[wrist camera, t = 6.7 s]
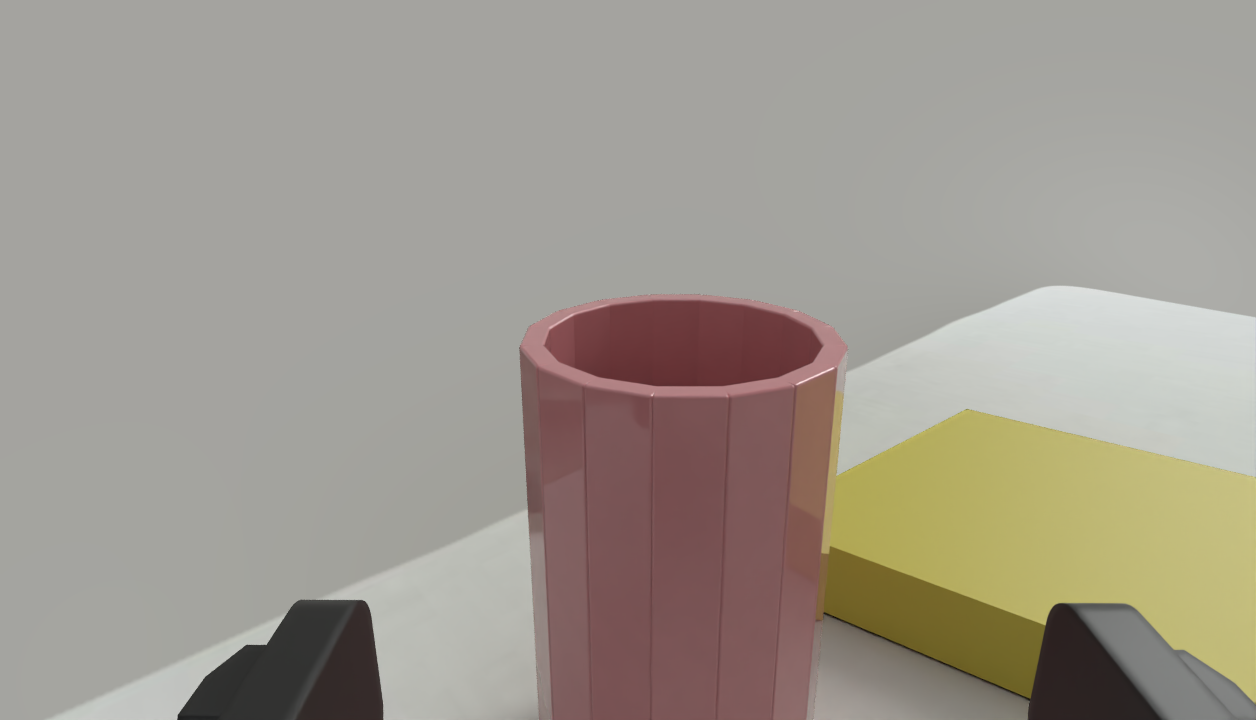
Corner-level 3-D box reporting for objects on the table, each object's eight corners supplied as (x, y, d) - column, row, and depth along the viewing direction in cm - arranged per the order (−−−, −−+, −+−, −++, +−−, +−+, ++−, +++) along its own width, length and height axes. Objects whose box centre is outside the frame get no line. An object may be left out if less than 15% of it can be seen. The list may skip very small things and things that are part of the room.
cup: (526, 872, 16) (496, 395, 12) (557, 662, 21) (541, 294, 18) (832, 875, 16) (886, 396, 12) (782, 663, 21) (809, 293, 18)
